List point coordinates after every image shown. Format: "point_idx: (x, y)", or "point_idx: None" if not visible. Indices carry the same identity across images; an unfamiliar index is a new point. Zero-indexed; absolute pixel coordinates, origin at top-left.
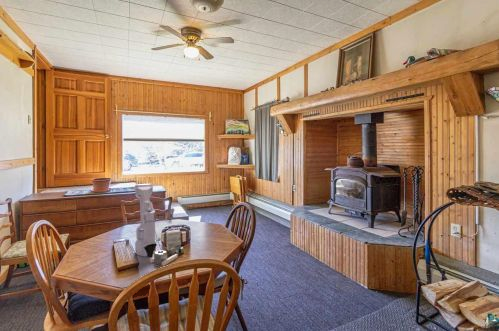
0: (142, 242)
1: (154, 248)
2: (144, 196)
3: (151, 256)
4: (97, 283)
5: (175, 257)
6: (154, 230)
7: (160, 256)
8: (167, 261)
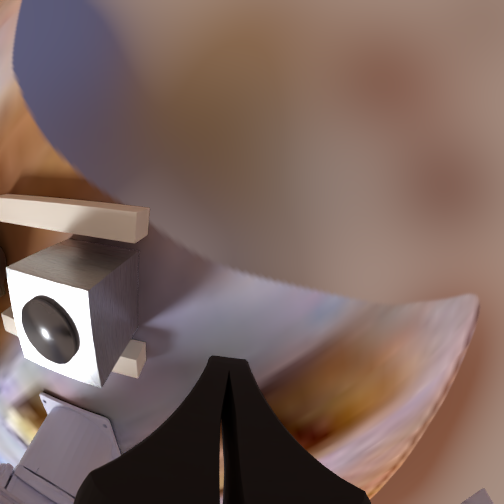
0: None
1: (164, 443)
2: None
3: (234, 365)
4: (436, 411)
5: (15, 196)
6: None
7: (101, 285)
8: (90, 204)
